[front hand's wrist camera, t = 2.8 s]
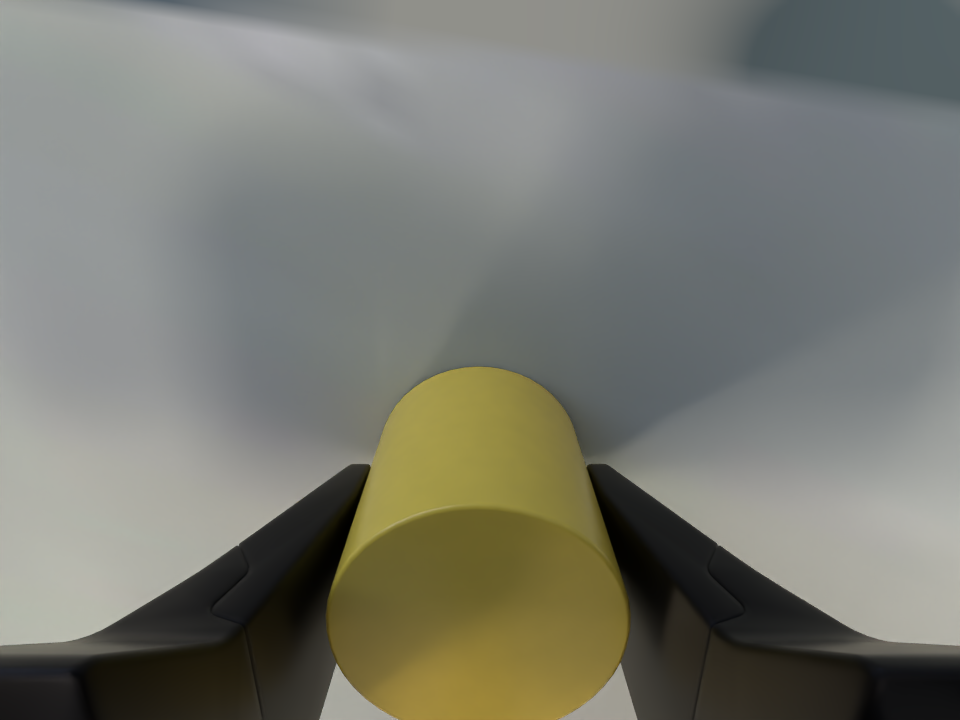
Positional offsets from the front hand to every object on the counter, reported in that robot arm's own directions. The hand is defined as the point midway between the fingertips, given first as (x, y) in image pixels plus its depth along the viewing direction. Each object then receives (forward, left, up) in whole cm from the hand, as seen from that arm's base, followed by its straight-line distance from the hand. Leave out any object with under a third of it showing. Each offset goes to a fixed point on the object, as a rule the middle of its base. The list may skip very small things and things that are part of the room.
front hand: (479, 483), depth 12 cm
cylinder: (0, 0, -1) cm, 1 cm away
